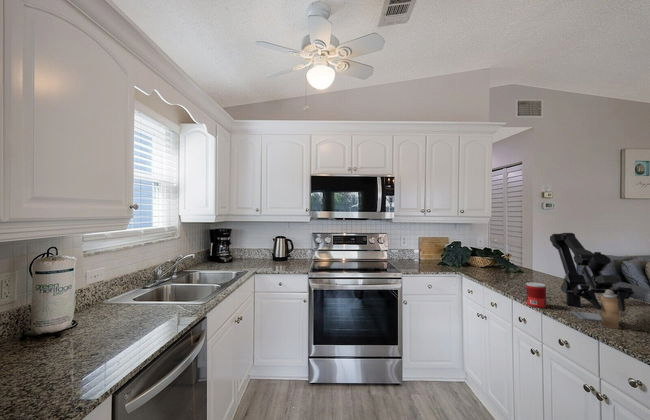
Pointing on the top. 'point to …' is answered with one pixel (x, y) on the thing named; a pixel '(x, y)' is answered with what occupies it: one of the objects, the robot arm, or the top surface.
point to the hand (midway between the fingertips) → (612, 310)
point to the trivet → (588, 316)
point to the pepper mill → (609, 310)
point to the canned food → (536, 295)
